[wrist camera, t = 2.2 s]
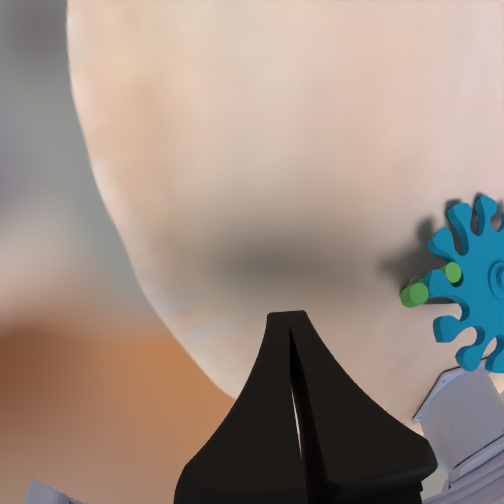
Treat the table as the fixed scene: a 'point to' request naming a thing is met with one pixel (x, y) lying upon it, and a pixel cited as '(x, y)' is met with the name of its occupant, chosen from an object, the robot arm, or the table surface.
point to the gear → (467, 284)
